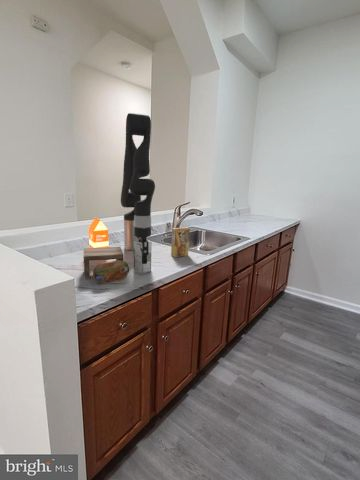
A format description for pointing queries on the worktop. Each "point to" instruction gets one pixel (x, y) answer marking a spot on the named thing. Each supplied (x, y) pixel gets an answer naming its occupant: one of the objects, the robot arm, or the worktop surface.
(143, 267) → the syrup box
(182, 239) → the candy box
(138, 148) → the robot arm
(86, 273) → the walnut shelf
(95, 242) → the orange juice
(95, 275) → the tin
